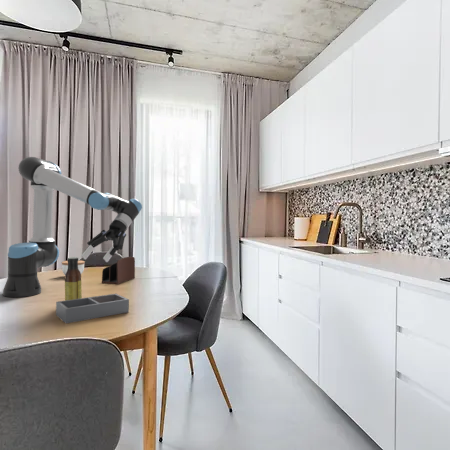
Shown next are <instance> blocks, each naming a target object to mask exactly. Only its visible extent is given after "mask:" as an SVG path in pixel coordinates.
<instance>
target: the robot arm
mask: <svg viewBox="0 0 450 450" xmlns="http://www.w3.org/2000/svg"><path fill="white" fill-rule="evenodd" d="M18 173H19V174H20V176H21V177H22V178H23V179H25V180H27V181H29V182H30V187H31V188H32V189H33V211H32V212H33V213H32V214H33V215H32V218H33V219H32V237H31V238H30V239H29V240H28V242H19V243H14V244H11V245H10V246H9V247H8V253H7V279H6V282H5V285H4V287H3V289H2V296H3V297H7V298H21V297H22V298H23V297H31V296H35V295H38V294H41V293H42V286H41V284H40V283H41V282H40V281H39V277H38V269H39V268H45V267H49V266H51V265H53V264H55V263H56V262H57V260H59V257H60V249H59V247H58V245H56V239H54V237H53V217H54V216H53V215H54V191H58V192H59V193H62V194H64V195H66V196H69V197H71V198H73V199H74V200H75V199H76V200H78V201H80V202H83V203H85V204H87V205H89V206H90V207H91V208H92V209H95V210H97V211H98V210H100V211H103V210H104V211H111V212H114V213H116V214H117V215H116V217H115V218H114V219H113V220H112V221H111V223H110V224H109V226H108V227H109V228H108V230H105V229H102V230H101V231H100V232H98V234H96V235H95V236H94V237H92V238H91V239H90V240H89V241H88V242H87V245H88V246H87V247H86V249H85V250H84V252H83V253H81V257H82V259H83V260H85V261H86V260H87V259H88V257H90V255H91V254H92V252H94V250H95V248H96V247H98V246H99V245H101V244H103V243H104V242H107V241H112V246H110V247H109V249H108V251H106V254H105V255H103V257H102V260H104V261H105V263H109V261H110V260H111V258H112V257H113V256H114V255H115V253H116V252H117V251H119V250H120V251H121V250H123V248H124V242H125V238H126V236H127V233H126V231H127V230H128V228H129V227H130V226H131V224H132V223H133V222H134V220H135V219H136V218H137V216H138V215H140V212H141V211H142V209H143V205H142V203H141V202H140V201H139V200H138V199H137V198H131V199H129V200H126V199H123V198H121V197H119V196H117V195H114V194H113V193H109V192H101V191H99V190H97V189H94V188H92V187H90V186H88V185H85V184H83V183H81V182H79V181H77V180H74V179H72V178H70V177H68V176H66V175H64V174H62V170H61V169H60V167H59V166H58V164H56V163H54V162H52V161H51V160H50V161H49V160H45V159H42V158H39V157H35V156H28V157H25V158H23V159H21V161H20V162H19V164H18Z"/></svg>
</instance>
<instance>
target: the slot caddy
mask: <svg viewBox="0 0 450 450" xmlns="http://www.w3.org/2000/svg"><path fill="white" fill-rule="evenodd" d="M55 305H56V306H55V316H56V317H57V318H58V319H59V320H61V321H62V322H64V323H65V324H71V323H77V322H81V321H87V320H92V319H97V318H103V317H108V316H109V317H111V316H113V315H114V316H115V315H119V314H126V313H130V312H129V310H130V309H129V306H130V299H129V298H126V297H124V296H122V295H120V294H118V293H110V294H104V295H103V294H102V295H97V296H89V297H82V298H80V299H73V300H66V301H65V300H60V301H56V304H55Z"/></svg>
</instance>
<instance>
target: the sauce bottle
mask: <svg viewBox="0 0 450 450" xmlns="http://www.w3.org/2000/svg"><path fill="white" fill-rule="evenodd" d="M78 260H79V257H75V256H74V257H73V256H71V257H68V258H67V260H66V261H68V270H67V272H66V275H64V301H66V300H73V299H80V298H83V297H82V296H83V295H82V294H83V293H82V274H80V271H79V269H78Z"/></svg>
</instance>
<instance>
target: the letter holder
mask: <svg viewBox="0 0 450 450" xmlns="http://www.w3.org/2000/svg"><path fill="white" fill-rule="evenodd" d="M135 274H136V258H135V257H134V256H125V257H122V258H120V259H118V260H117V261H116V262H114V263H112V264H110V265H109V266H107V267H104V268H103V269H102V274H101V284H110V285H120V284H122V283H123V284H124V283H126V282H128V281H130V280H134V279H136V278H135V277H136V275H135Z"/></svg>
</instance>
